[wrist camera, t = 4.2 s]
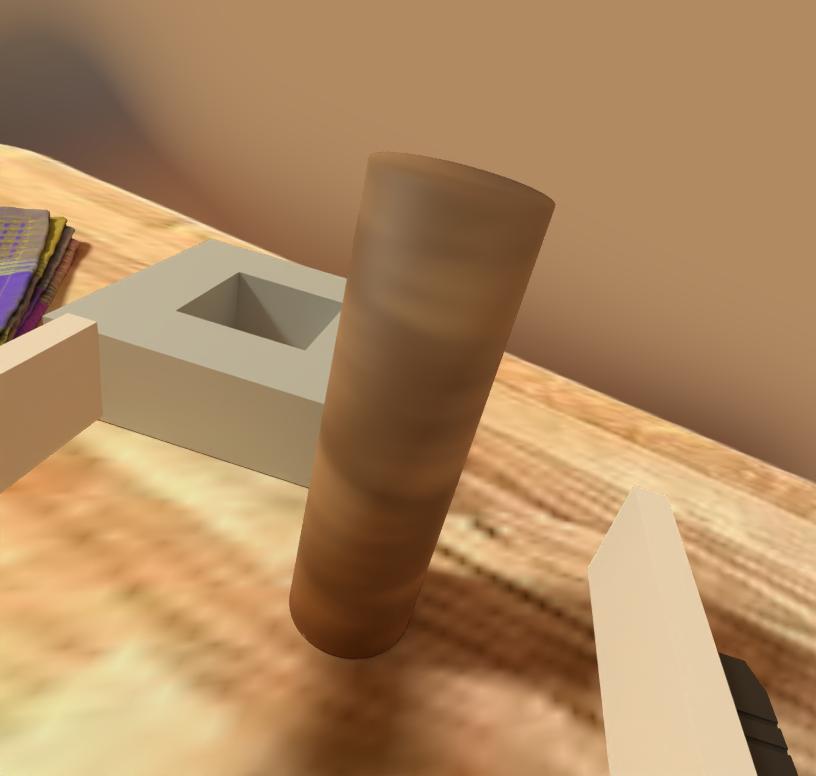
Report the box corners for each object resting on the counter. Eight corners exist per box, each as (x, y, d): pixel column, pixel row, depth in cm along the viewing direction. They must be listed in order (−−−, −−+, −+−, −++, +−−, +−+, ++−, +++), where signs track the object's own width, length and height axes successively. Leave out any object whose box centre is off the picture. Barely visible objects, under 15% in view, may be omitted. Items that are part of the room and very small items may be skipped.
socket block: (406, 364, 37) (422, 301, 35) (340, 498, 25) (359, 415, 23) (207, 303, 38) (211, 238, 36) (52, 404, 26) (42, 316, 24)
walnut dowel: (420, 575, 22) (553, 189, 15) (395, 676, 18) (557, 225, 11) (314, 541, 23) (393, 145, 15) (268, 633, 19) (343, 164, 11)
